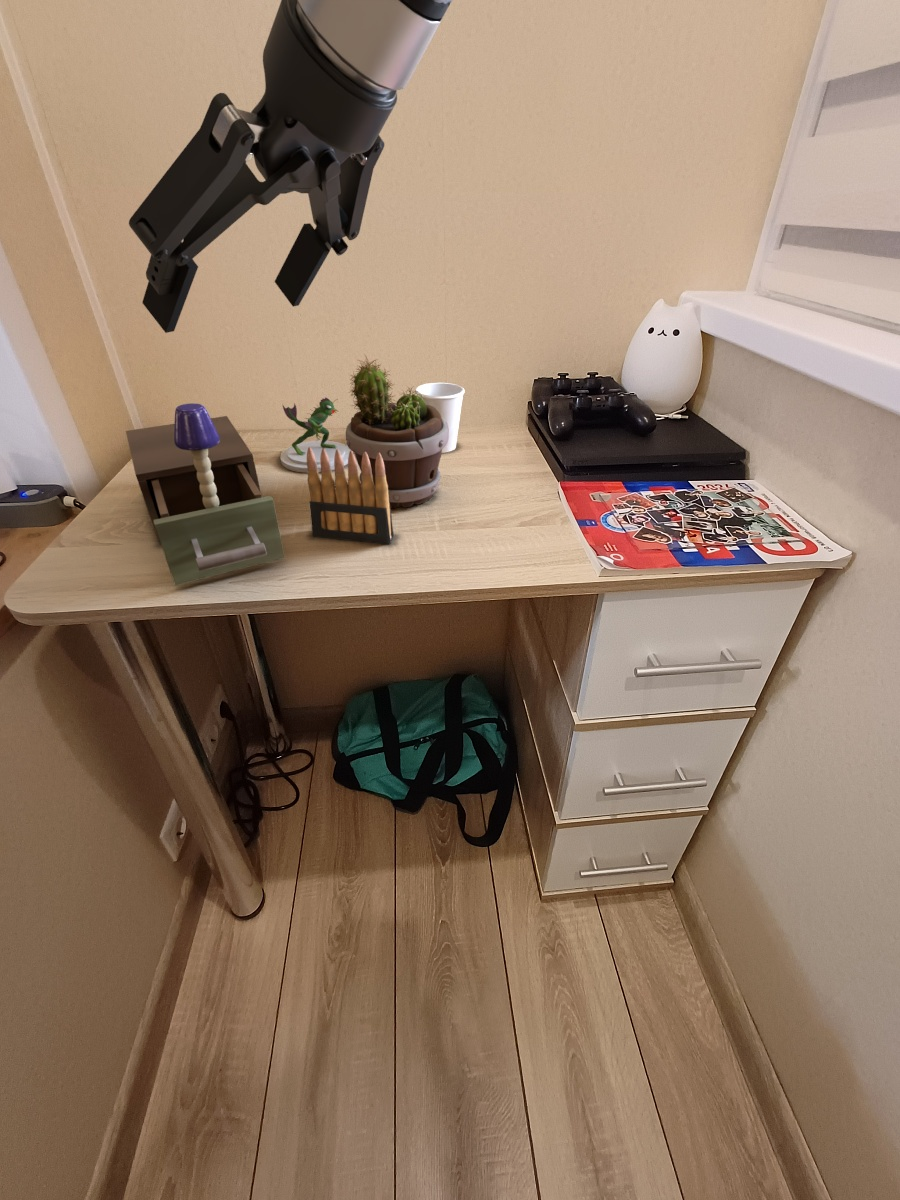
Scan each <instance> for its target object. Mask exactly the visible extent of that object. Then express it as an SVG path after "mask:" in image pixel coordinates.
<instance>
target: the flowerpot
mask: <svg viewBox="0 0 900 1200" xmlns="http://www.w3.org/2000/svg"><path fill="white" fill-rule="evenodd" d="M363 355H364V356H365V361H363V360H360V359H357V361H359V363H360V365H358V367H357V368H356V370H353V371H352V372H353V373H352V374H349V376H350V377H351V378H350V381H351V382H350V383H349V385H350V387H352V388H350V391H348V392H347V394H349V393H351V394H350V397H352V401H353V404H351V405H350V406H353V407H354V408H353V409H354V410H357V411H356V412H355V413H354V415H353V416H351V418H350V422H349V423H348V424H347V426H346V428H345V445H347V446H348V447H349V449H350V450H352V452H353V453H354V456H355V459H356V462H357V466H358V467H359V470H360V472H359V473H360V474H359V479H360V482H361V484H362V469H361V466H362V456H363V453H364V452H366V453H367V455H368V457H369V460H370V465H371V472H372V478H373V482H374V487H375V475H376V474H375V463H376V457H377V454H378V453H380V454H381V456H382V459H383V462H384V467H385V475H386V481H387V485H388V495H389V503H390V508H394V509H397V508H399V507H402V508H408V507H412V506H413V505H421V504H423V503H426V502H428V501H429V500H430V499H431V498H432V497H433V496H434V494H435V492H436V491H438V487H439V484H440V480H441V471H440V470H439V465H440V461H441V458H442V449H443V448H444V447H445V446H446V445H447V443H448V440H449V427H448V424H447V422H446V421H445V420H444V419H443V418H442V417H441V415H440V413H439V411H438V410H437V409H436V408H435V407H433V406H431V405H426V404H425V402H424V401H423V397H422V395H421V397H420V396H418V395H417V394H416V393H417V392H418V391H417V392H416V391H415V389H414V390H412V389H413V387H410V386H407V388H408V389H406V391H405V390H402V391H403V392H402V393H401V392H399V394H400V395H401V396H400V397H399V398H398V399H397V400H395V399H393V400H392V398H393V397H396V395H392V393H393V392H391V393H390V392H389V390H390V389H392V387H393V386H394V384H393V383H392V382H391V381H392V379H391V380H390V379H389V378H388V377H389V376H391V374H389V373H388V372H390V370H388V371H387V369H385V367H383V369H381V366H382V363H379V361H378V359H379V358H376V359H374V360H372V361H369V359H368V357H367V355H366V354H365V353H363ZM377 361H378V363H377ZM355 372H357V373H356V374H355ZM415 392H416V393H415ZM419 393H420V390H419ZM420 394H421V393H420ZM420 394H419V395H420ZM354 399H355V400H354ZM424 399H425V398H424ZM393 401H395V402H393Z"/></svg>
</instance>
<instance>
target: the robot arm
mask: <svg viewBox="0 0 900 1200" xmlns="http://www.w3.org/2000/svg"><path fill="white" fill-rule="evenodd" d="M452 2H453V0H280V3H279V6H278V9H277V12H276V14H275V17H274V20H273V22H272V26H271V29H270V31H269V34H268V37H267V39H266V40H267V41H266V42H265V46H264V48H263V52H262V64H263V65H262V66H263V72H264V84H265V90H264V93H263V95H262V96H261V99H260V100H259V102H258V103H257V104H256V105H255V106H254V108H253V109H252V110H251V112H250V111H247V110H243V109H239V108H237V107H236V106H235V104H234V103H233V102H232V100H231V99H230V97H229V96H228V94H226V93H225V92H219V93H217V94H215V95H214V96H213V97H212V99H211V101H210V103H209V106H208V108H207V111H206V113H205V116H204V117H203V120H202V123H201V125H200V127H199V129H198V130H197V131H196V133H195V134H194V135H193V137H192V138H191V139H190V140H189V142H188V143H187V144H186V146H185V147H184V148H183V150H182V151H181V152H180V153H179V154H178V156H177V157H176V159H175V160H174V161H173V162H172V164H171V165H170V166H169V167H168V169H167V170H166V172H164V174H163V175H162V177H161V178H160V179H159V181H158V182H157V183H156V184H155V186H154V187H153V188H152V190H150V192H149V194H148V195H147V196H146V197H145V199H144V200H143V201H142V202H141V204H139V206H138V208H137V209H136V210H135V211H134V212H133V214H132V216H131V217H130V219H129V220H128V225H129V226H128V227H130V228H131V230H132V231H133V233H134V234H135V235H136V237H137V239H139V240H140V242H141V243H142V244H143V246H144V247H145V248H146V250H147V251H148V252H149V254H150V258H149V261H148V264H147V267H146V270H145V276H146V277H145V278H146V280H147V281H148V282H147V285H146V289H145V291H144V295H143V298H142V305H143V306H144V307H145V309H146V310H147V311H148V312H149V314H150V315H151V316H152V318H153V319H154V321H156V322H157V324H158V325H159V327H160V328H161V329H162V330H163V331H164V333H165V334H168V333H172V332H175V330H176V328H177V324H178V322H179V320H180V317H181V314H182V311H183V309H184V306H185V303H186V300H187V298H188V295H189V292H190V290H191V288H192V285H193V282H194V279H195V277H196V274H197V271H198V268H199V265H198V264H197V263H196V262H195V260H194V259H195V257H196V256H198V255H199V254H200V253H201V252H202V251H203V250H204V249H206V248H207V247H208V246H210V244H212V243H213V242H214V241H215V240H217V238H218V237H220V236H221V235H222V234H223V233H224V232H226V231H227V230H228V229H229V228H230V227H231V226H232V225H233V224H234V223H236V222H237V221H238V220H239V219H241V218H242V217H243V216H244V215H245V214H247V212H249V211H250V210H251V209H252V208H253V207H254V206H256V205H258V204H259V205H262V206H267V205H269V204H270V203H271V202H273V201H274V200H275V199H276V198H278V196H280V195H281V194H282V195H283V194H285V195H286V194H290V193H292V192H297V193H299V194H307V195H308V200H309V205H310V211H311V215H312V220H313V221H312V222H313V223H314V225H315V228H314V226H313V225H312V223H311V222H309V223H308V222H307V223H303V225H302V227H301V228H300V230H299V233H298V235H297V236H296V238H295V240H294V243H293V245H292V246H291V249H290V250H289V252H288V254H287V256H286V258H285V260H284V262H283V264H282V266H281V267H280V269H279V272H278V274H277V276H276V278H275V280H274V282H273V283H275V285H276V286H277V287H278V289H279V290H280V292H281V293H282V295H283V296H284V297H285V298H286V300H287V301H288V302H289V304H290V305H291V306H292V307H298V306H299V305H300V304H301V302H302V301H303V299H304V297H305V295H306V293H307V292H308V290H309V288H310V287H311V285H312V283H313V282H314V279H315V278H316V276H317V274H318V273H319V271H320V269H321V267H322V266H323V264H324V262H325V260H326V259H327V257H328V256H329V254H330V252H331V250H333V251H334V253H335V254H336V256H342V255H344V253H346V252H347V250H348V248H349V245H348V244H347V242H346V241H345V240H344V238H345V237H346V238H347V239H348V241H353V240H355V239H356V238H357V237H358V236H359V234H360V232H361V227H362V224H363V223H362V222H363V218H364V213H365V209H366V205H367V200H368V195H369V191H370V186H371V182H372V177H373V173H374V170H375V169H374V168H375V166H376V164H377V163H378V160H379V158H380V156H381V154H382V152H383V150H384V148H385V141H384V140H383V139H382V137H381V136H380V133H381V131H382V130H383V128H384V126H385V124H386V123H387V121H388V119H389V117H390V115H391V113H392V112H393V110H394V108H395V107H396V104H397V101H398V92H397V91H400V90H404V89H405V88H406V87H407V86H408V84H409V82H410V80H411V78H412V77H413V75H414V73H415V71H416V69H417V67H418V65H419V63H420V62H421V60H422V58H423V56H424V54H425V53H426V50H427V48H428V47H429V45H430V43H431V41H432V39H433V36H434V35H435V33H436V31H437V29H438V28H439V26H440V24H441V22H442V20H443V18H444V16H445V14H446V12H447V10H448V9H449V7H450V5H451V4H452ZM252 159H254V164H255V166H256V169H257V171H258V172H259V174H260V175H261V176H262V177H263V179H264V181H261V180H259V179H258V178H257V176H256V175H255V174H254V173H253V171H252V169H251V168H250V166H248V164H247V162H250V161H251V160H252Z"/></svg>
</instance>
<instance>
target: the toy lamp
mask: <svg viewBox="0 0 900 1200" xmlns="http://www.w3.org/2000/svg"><path fill="white" fill-rule="evenodd" d="M211 418H212V417H211V416H210V414H209V412H208V410H207V408H206V407H205V406H204V405H203V404H201V403H194V402H193V403H191V402H190V403H184V404H180V405H178V406H176V408H175V410H174V424H175V428H174V442H175V445H176V446H177V447H178V448H180V449H183V450H191V454H192V456H193V457H194V466H195V468H196V470H197V479H198V481H199V482H200V492H201V494H202V495H203V504H204V506H205V507H206V509H208V508H213V507H218V506H219V499H218V496H217V495H216V492H217V489H216V485H215V484H214V482H213V481H214V475H213V472H212V471H211V470H210V469H211V462H210V459H209V458H208V448H212V447H214V446H216V445H217V444H218V443H219V442H220V438H219V435H218V433H217V430H216V428H215V426H214V424H213V422H212V420H211Z"/></svg>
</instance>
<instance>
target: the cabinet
mask: <svg viewBox="0 0 900 1200" xmlns="http://www.w3.org/2000/svg"><path fill="white" fill-rule="evenodd" d="M210 418H211V420H212V422H213V424H214V426H215V428H216V430H217V433H218V435H219V438H220V442H219V443H218V444H217V445H216V446H214V447H212V448H208V458H209V459H210V462H211V468H214V467H220V466H225V465H231V464H236V463H243V465H244V467H245V468H246V470H247V472H248V473H249V475H250V476H251V478H252V480H253V481H254V483H255V485H256V486H257V488H258V489H259V491H260V493H261V494H262V492H261V487H260V483H259V478H258V474H257V469H256V463H255V458H254V454H253V453H252V451H251V449H250V448H249V447H248V445H247V443H246V442H245V441H244V439H243V438H242V436H241V435H240V433H239V432H238V430H237V429H236V427H235V426H234V424H233V423H232V421H231V420H230V417H228V416H227V415H223V416H216V417H210ZM174 428H175V423H169V424H163V425H157V426H150V427H143V428H137V429H136V428H135V429H130V430H126V431H125V434H126V438H127V443H128V448H129V452H130V456H131V461H132V465H133V469H134V470H133V471H134V474H135V477H136V480H137V483H138V486H139V489H140V492H141V494H142V497H143V500H144V501H143V502H144V503H145V506H146V509H147V513H148V515H149V519H150V521H151V524H152V527H153V530H154V532H155V535H156V538H157V541H158V544H159V546H161V543H160V540H159V537H158V534H157V531H156V528H155V525H154V521H153V520H155V519H160V518H161V515H160V512H159V508H158V504H157V501H156V497H155V493H154V490H153V486H152V482H151V479H154V478H159V477H165V476H170V475H176V474H181V473H187V472H192V471H197V470H196V468H195V466H194V457H193V456H192V454H191V450H183V449H180V448H178V447H177V446H176V445H175V442H174Z"/></svg>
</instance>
